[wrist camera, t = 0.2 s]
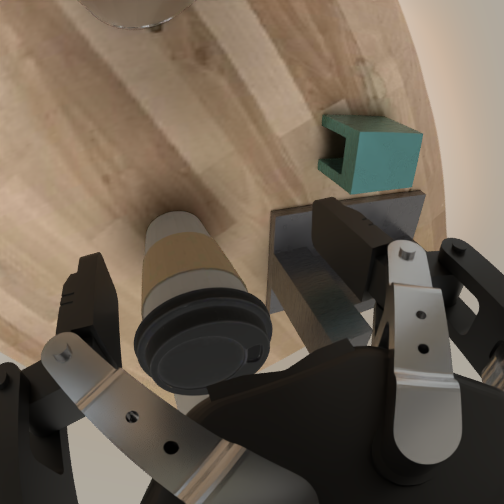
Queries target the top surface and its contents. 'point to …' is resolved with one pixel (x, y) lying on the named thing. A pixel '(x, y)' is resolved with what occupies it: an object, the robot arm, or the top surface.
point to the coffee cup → (196, 311)
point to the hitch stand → (328, 270)
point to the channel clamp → (372, 153)
